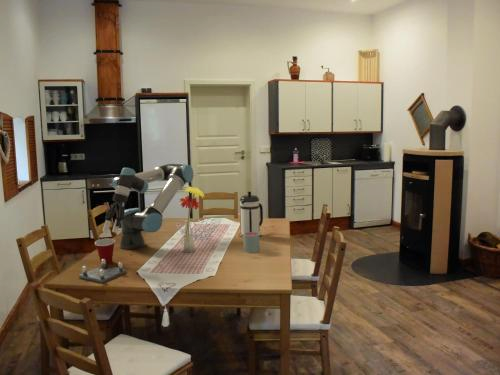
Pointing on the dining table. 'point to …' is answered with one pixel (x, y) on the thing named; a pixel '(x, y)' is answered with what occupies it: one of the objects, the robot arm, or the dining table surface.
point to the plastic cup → (105, 249)
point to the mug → (251, 242)
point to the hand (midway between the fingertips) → (109, 232)
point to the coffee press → (250, 214)
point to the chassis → (102, 272)
